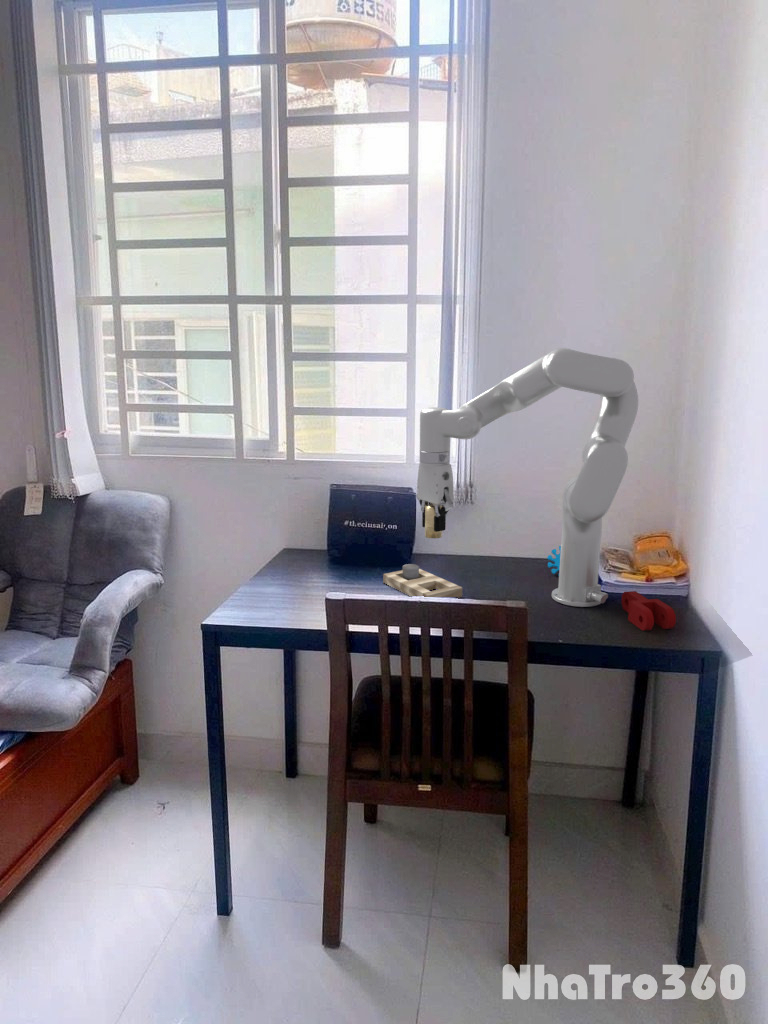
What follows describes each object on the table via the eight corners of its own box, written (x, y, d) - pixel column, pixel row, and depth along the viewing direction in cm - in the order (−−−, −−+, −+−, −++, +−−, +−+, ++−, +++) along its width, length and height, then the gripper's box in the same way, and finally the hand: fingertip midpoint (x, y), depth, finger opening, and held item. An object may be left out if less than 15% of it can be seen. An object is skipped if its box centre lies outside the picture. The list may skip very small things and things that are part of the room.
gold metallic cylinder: (445, 536, 187) (446, 506, 185) (431, 539, 185) (431, 508, 183) (435, 533, 191) (435, 503, 189) (421, 535, 188) (421, 505, 186)
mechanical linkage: (674, 631, 166) (676, 610, 165) (645, 634, 165) (647, 613, 164) (638, 607, 181) (640, 587, 180) (611, 608, 180) (613, 589, 179)
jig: (462, 596, 187) (462, 578, 186) (427, 605, 181) (427, 585, 180) (416, 575, 204) (416, 558, 202) (383, 582, 198) (383, 565, 197)
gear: (542, 570, 203) (552, 540, 208) (543, 580, 208) (553, 550, 213) (582, 581, 199) (592, 550, 204) (581, 590, 204) (591, 560, 209)
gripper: (467, 461, 178) (465, 533, 182) (427, 452, 192) (426, 520, 196) (442, 463, 174) (441, 538, 178) (403, 454, 188) (403, 523, 192)
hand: (433, 527), depth 187 cm, fingers closed on gold metallic cylinder, 4 cm apart
